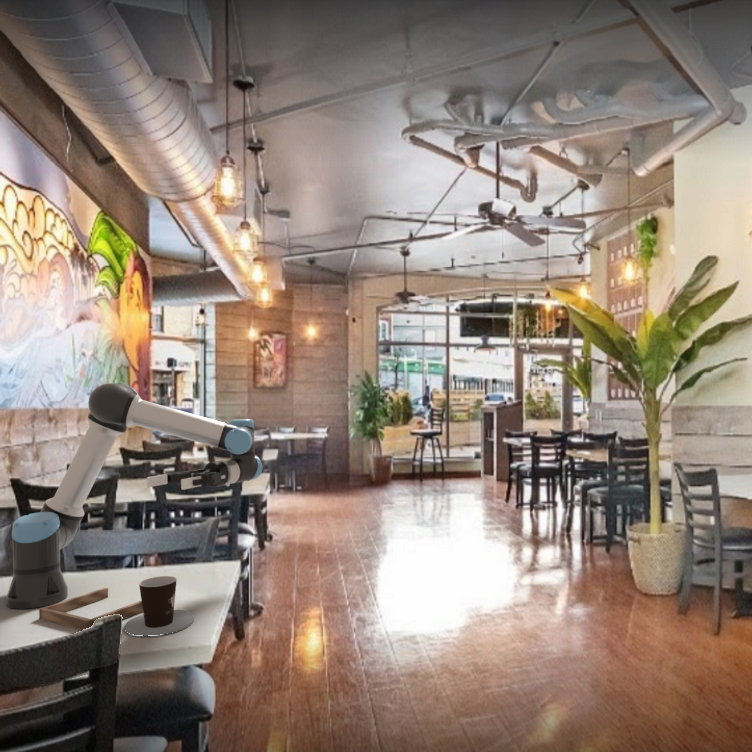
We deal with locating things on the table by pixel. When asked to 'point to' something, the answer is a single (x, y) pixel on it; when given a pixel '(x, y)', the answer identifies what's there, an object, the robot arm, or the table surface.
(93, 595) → the brown wooden open frame
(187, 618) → the mat
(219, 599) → the table surface
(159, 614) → the coffee mug
